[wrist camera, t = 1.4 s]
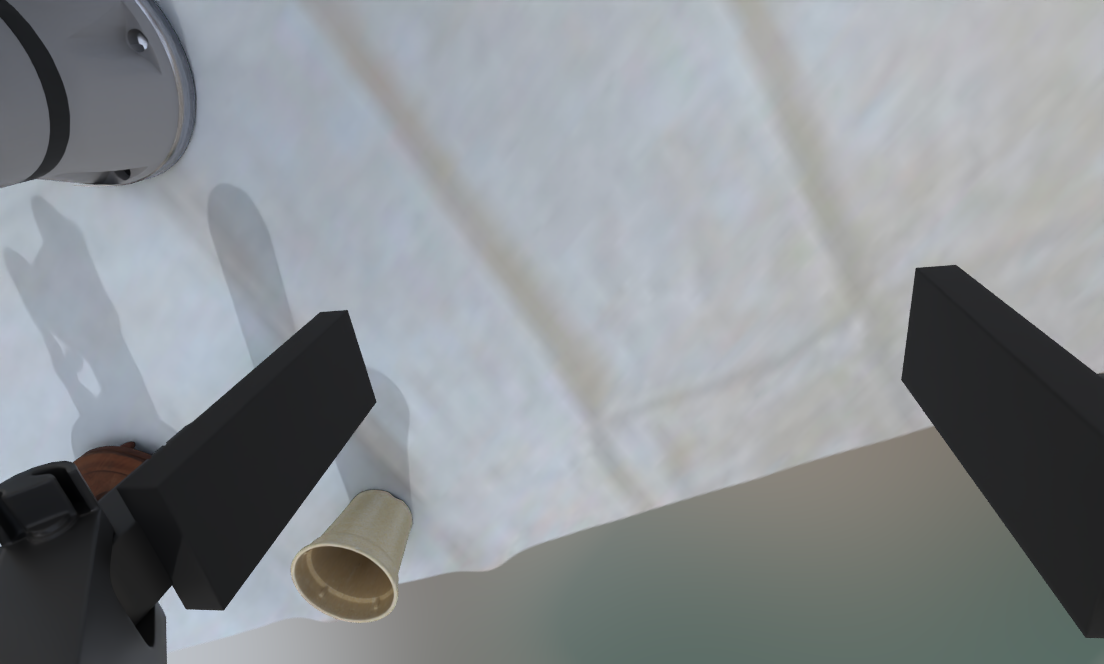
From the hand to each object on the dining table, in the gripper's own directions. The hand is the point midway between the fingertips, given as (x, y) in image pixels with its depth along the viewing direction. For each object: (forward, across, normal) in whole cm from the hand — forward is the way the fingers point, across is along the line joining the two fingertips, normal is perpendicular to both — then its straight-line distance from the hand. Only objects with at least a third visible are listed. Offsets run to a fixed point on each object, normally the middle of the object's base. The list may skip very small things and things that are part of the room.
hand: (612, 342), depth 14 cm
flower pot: (+29, -27, -32) cm, 51 cm away
